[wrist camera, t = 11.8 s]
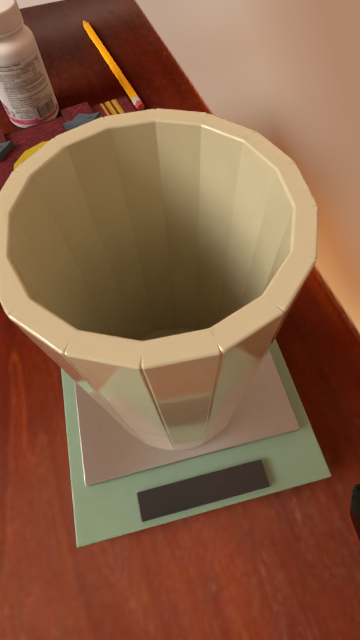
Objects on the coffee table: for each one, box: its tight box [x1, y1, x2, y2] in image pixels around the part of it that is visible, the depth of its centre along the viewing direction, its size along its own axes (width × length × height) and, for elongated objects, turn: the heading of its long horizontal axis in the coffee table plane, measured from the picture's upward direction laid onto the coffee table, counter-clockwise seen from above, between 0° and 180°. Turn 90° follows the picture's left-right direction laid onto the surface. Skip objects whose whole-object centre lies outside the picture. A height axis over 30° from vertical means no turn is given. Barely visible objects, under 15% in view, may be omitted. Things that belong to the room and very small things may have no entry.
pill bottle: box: [0, 0, 59, 128], centre depth 29 cm, size 5×5×8 cm
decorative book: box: [0, 96, 136, 304], centre depth 25 cm, size 11×16×5 cm
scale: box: [61, 339, 331, 547], centre depth 19 cm, size 12×12×3 cm
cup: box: [0, 108, 318, 450], centre depth 12 cm, size 7×7×12 cm
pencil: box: [83, 21, 145, 111], centre depth 36 cm, size 1×19×1 cm, turn 25°
